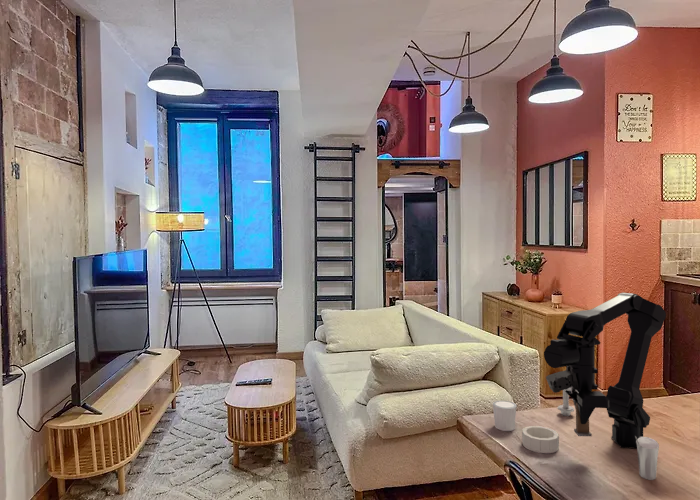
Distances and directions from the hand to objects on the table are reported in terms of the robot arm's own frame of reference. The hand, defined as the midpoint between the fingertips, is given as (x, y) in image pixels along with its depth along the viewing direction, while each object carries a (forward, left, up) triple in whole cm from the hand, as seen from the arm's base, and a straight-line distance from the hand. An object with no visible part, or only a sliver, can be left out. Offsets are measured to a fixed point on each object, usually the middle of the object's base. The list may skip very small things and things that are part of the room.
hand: (582, 422), depth 122 cm
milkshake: (-11, +9, -9) cm, 17 cm away
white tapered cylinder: (+16, -18, -9) cm, 26 cm away
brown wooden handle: (0, 0, -3) cm, 3 cm away
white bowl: (+9, -6, -9) cm, 14 cm away
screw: (-5, -29, -9) cm, 31 cm away
